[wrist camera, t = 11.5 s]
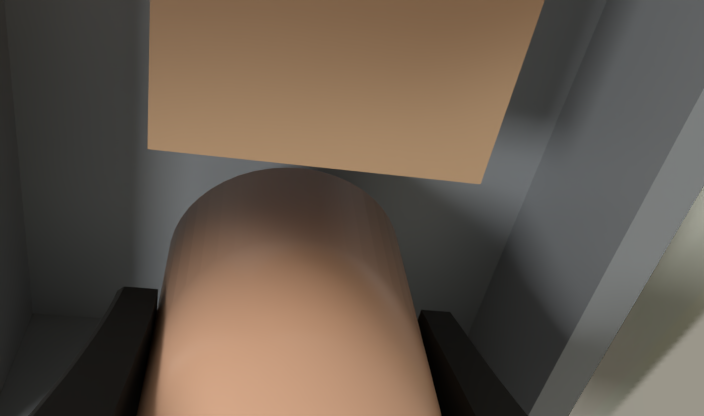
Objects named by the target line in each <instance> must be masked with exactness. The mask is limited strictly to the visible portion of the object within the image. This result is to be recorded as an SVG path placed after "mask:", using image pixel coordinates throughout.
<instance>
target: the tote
mask: <svg viewBox="0 0 704 416" xmlns="http://www.w3.org/2000/svg"><path fill="white" fill-rule="evenodd" d="M149 33H150V0H0V416H28V415H29V414H30V413H31V412H32V411H33V410H34V409H35V407H36V406H37V405H38V404H39V402H40V401H41V400H42V399H43V398H44V396H45V395H46V394H47V393H48V392H49V390H50V389H51V388H52V387H53V386H54V384H55V383H56V382H57V381H58V380H59V378H60V377H61V376H62V374H63V373H64V372H65V371H66V369H67V368H68V367H69V365H70V364H71V362H72V361H73V360H74V358H75V357H76V356H77V354H78V353H79V352H80V350H81V349H82V347H83V346H84V345H85V343H86V342H87V341H88V339H89V338H90V336H91V335H92V333H93V332H94V330H95V329H96V327H97V326H98V324H99V322H100V321H101V319H102V318H103V316H104V314H105V313H106V311H107V309H108V308H109V306H110V304H111V302H112V301H113V299H114V297H115V295H116V293H117V291H118V290H119V289H121V288H122V287H124V286H125V287H137V288H150V289H158V302H157V309H158V303H159V298H160V293H161V288H162V283H163V278H164V273H165V268H166V262H167V257H168V252H169V247H170V242H171V239H172V236H173V233H174V230H175V228H176V226H177V224H178V223H179V221H180V219H181V217H182V216H183V215H184V213H185V212H186V211H187V210H188V208H189V207H190V206H191V205H192V204H193V203H194V202H195V201H196V200H197V199H198V198H199V197H201V196H202V195H203V194H205V193H206V192H207V191H209V190H210V189H212V188H213V187H215V186H217V185H219V184H221V183H222V182H224V181H226V180H229V179H231V178H234V177H236V176H239V175H242V174H246V173H249V172H253V171H258V170H264V169H270V168H303V169H310V170H315V171H321V172H324V173H327V174H331V175H334V176H337V177H339V178H341V179H344V180H346V181H348V182H350V183H352V184H353V185H355V186H357V187H358V188H360V189H362V190H363V191H364V192H366V193H367V194H368V195H369V196H371V197H372V198H373V199H374V200H375V201H376V202H377V203H378V204H379V205H380V206H381V207H382V209H383V210H384V212H385V213H386V214H387V216H388V217H389V219H390V221H391V223H392V225H393V227H394V230H395V233H396V237H397V240H398V244H399V248H400V252H401V256H402V260H403V264H404V268H405V272H406V276H407V280H408V284H409V288H410V292H411V296H412V300H413V304H414V308H415V311H416V315H417V319H418V317H419V314H420V312H421V310H432V311H444V312H451V314H452V315H453V317H454V318H455V319H456V321H457V322H458V323H459V325H460V326H461V328H462V329H463V330H464V332H465V333H466V335H467V336H468V337H469V339H470V340H471V342H472V343H473V344H474V346H475V347H476V348H477V350H478V351H479V353H480V354H481V355H482V357H483V358H484V360H485V361H486V362H487V364H488V365H489V366H490V368H491V369H492V370H493V372H494V373H495V374H496V376H497V377H498V378H499V380H500V381H501V382H502V384H503V385H504V386H505V387H506V389H507V390H508V391H509V393H510V394H511V395H512V396H513V398H514V399H515V400H516V402H517V403H518V404H519V405H520V407H521V408H522V409H523V410H524V411H525V413H526V414H527V415H528V416H569V414H570V412H571V411H572V409H573V407H574V405H575V404H576V402H577V400H578V399H579V397H580V395H581V394H582V392H583V390H584V388H585V387H586V385H587V383H588V382H589V380H590V378H591V376H592V375H593V373H594V371H595V370H596V368H597V366H598V365H599V363H600V361H601V359H602V358H603V356H604V354H605V353H606V351H607V349H608V348H609V346H610V344H611V342H612V341H613V339H614V337H615V336H616V334H617V332H618V331H619V329H620V327H621V325H622V324H623V322H624V320H625V319H626V317H627V315H628V314H629V312H630V310H631V308H632V307H633V305H634V303H635V302H636V300H637V298H638V297H639V295H640V293H641V291H642V290H643V288H644V286H645V285H646V283H647V281H648V280H649V278H650V276H651V274H652V273H653V271H654V269H655V268H656V266H657V264H658V263H659V261H660V259H661V257H662V256H663V254H664V252H665V251H666V249H667V247H668V245H669V244H670V242H671V240H672V239H673V237H674V235H675V234H676V232H677V230H678V228H679V227H680V225H681V223H682V222H683V220H684V218H685V217H686V215H687V213H688V211H689V210H690V208H691V206H692V205H693V203H694V201H695V200H696V198H697V196H698V194H699V193H700V191H701V189H702V188H703V186H704V0H545V1H544V4H543V7H542V10H541V12H540V15H539V18H538V21H537V24H536V27H535V30H534V33H533V35H532V38H531V41H530V44H529V47H528V50H527V53H526V55H525V58H524V61H523V64H522V67H521V70H520V73H519V75H518V78H517V81H516V84H515V87H514V90H513V93H512V95H511V98H510V101H509V104H508V107H507V110H506V113H505V116H504V118H503V121H502V124H501V127H500V130H499V133H498V136H497V138H496V141H495V144H494V147H493V150H492V153H491V156H490V158H489V161H488V164H487V167H486V170H485V173H484V176H483V178H482V181H481V184H473V183H464V182H454V181H445V180H435V179H426V178H416V177H407V176H397V175H388V174H378V173H369V172H359V171H350V170H341V169H331V168H322V167H312V166H303V165H293V164H284V163H274V162H265V161H255V160H246V159H236V158H227V157H217V156H208V155H199V154H189V153H180V152H170V151H161V150H151V149H148V91H149Z"/></svg>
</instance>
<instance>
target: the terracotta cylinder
mask: <svg viewBox="0 0 704 416" xmlns="http://www.w3.org/2000/svg"><path fill="white" fill-rule="evenodd" d="M137 416H442V415H441V411H440V407H439V403H438V399H437V395H436V391H435V387H434V383H433V379H432V375H431V371H430V367H429V363H428V359H427V355H426V351H425V347H424V343H423V339H422V335H421V331H420V327H419V323H418V319H417V315H416V311H415V308H414V304H413V300H412V296H411V292H410V288H409V284H408V280H407V276H406V272H405V268H404V264H403V260H402V256H401V252H400V248H399V244H398V240H397V237H396V233H395V230H394V227H393V225H392V223H391V221H390V219H389V217H388V216H387V214H386V213H385V212H384V210H383V209H382V207H381V206H380V205H379V204H378V203H377V202H376V201H375V200H374V199H373V198H372V197H371V196H369V195H368V194H367V193H366V192H364V191H363V190H362V189H360V188H358V187H357V186H355V185H353V184H352V183H350V182H348V181H346V180H344V179H341V178H339V177H337V176H334V175H331V174H327V173H324V172H321V171H315V170H310V169H303V168H270V169H264V170H258V171H253V172H249V173H246V174H242V175H239V176H236V177H234V178H231V179H229V180H226V181H224V182H222V183H221V184H219V185H217V186H215V187H213V188H212V189H210V190H209V191H207V192H206V193H205V194H203V195H202V196H201V197H199V198H198V199H197V200H196V201H195V202H194V203H193V204H192V205H191V206H190V207H189V208H188V210H187V211H186V212H185V213H184V215H183V216H182V217H181V219H180V221H179V223H178V224H177V226H176V228H175V230H174V233H173V236H172V239H171V242H170V247H169V252H168V257H167V262H166V268H165V273H164V278H163V283H162V288H161V293H160V298H159V303H158V309H157V314H156V319H155V324H154V329H153V334H152V339H151V345H150V350H149V355H148V360H147V365H146V370H145V375H144V380H143V385H142V390H141V395H140V401H139V406H138V411H137Z"/></svg>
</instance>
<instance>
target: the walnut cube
mask: <svg viewBox="0 0 704 416" xmlns="http://www.w3.org/2000/svg"><path fill="white" fill-rule="evenodd" d="M544 1H545V0H150V33H149V91H148V149H151V150H161V151H170V152H180V153H189V154H199V155H208V156H217V157H227V158H236V159H246V160H255V161H265V162H274V163H284V164H293V165H303V166H312V167H322V168H331V169H341V170H350V171H359V172H369V173H378V174H388V175H397V176H407V177H416V178H426V179H435V180H445V181H454V182H464V183H473V184H481V181H482V178H483V176H484V173H485V170H486V167H487V164H488V161H489V158H490V156H491V153H492V150H493V147H494V144H495V141H496V138H497V136H498V133H499V130H500V127H501V124H502V121H503V118H504V116H505V113H506V110H507V107H508V104H509V101H510V98H511V95H512V93H513V90H514V87H515V84H516V81H517V78H518V75H519V73H520V70H521V67H522V64H523V61H524V58H525V55H526V53H527V50H528V47H529V44H530V41H531V38H532V35H533V33H534V30H535V27H536V24H537V21H538V18H539V15H540V12H541V10H542V7H543V4H544Z"/></svg>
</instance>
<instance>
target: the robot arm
mask: <svg viewBox="0 0 704 416" xmlns="http://www.w3.org/2000/svg"><path fill="white" fill-rule="evenodd" d="M157 302H158V289H150V288H137V287H125V286H124V287H122V288H121V289H119V290H118V291H117V293H116V295H115V297H114V299H113V301H112V302H111V304H110V306H109V308H108V309H107V311H106V313H105V314H104V316H103V318H102V319H101V321H100V322H99V324H98V326H97V327H96V329H95V330H94V332H93V333H92V335H91V336H90V338H89V339H88V341H87V342H86V343H85V345H84V346H83V347H82V349H81V350H80V352H79V353H78V354H77V356H76V357H75V358H74V360H73V361H72V362H71V364H70V365H69V367H68V368H67V369H66V371H65V372H64V373H63V374H62V376H61V377H60V378H59V380H58V381H57V382H56V383H55V384H54V386H53V387H52V388H51V389H50V390H49V392H48V393H47V394H46V395H45V396H44V398H43V399H42V400H41V401H40V402H39V404H38V405H37V406H36V407H35V409H34V410H33V411H32V412H31V413H30V414H29V415H28V416H137V411H138V406H139V401H140V395H141V390H142V385H143V380H144V375H145V370H146V365H147V360H148V355H149V350H150V345H151V339H152V334H153V329H154V324H155V319H156V314H157ZM418 323H419V327H420V331H421V335H422V339H423V343H424V347H425V351H426V355H427V359H428V363H429V367H430V371H431V375H432V379H433V383H434V387H435V391H436V395H437V399H438V403H439V407H440V411H441V415H442V416H528V415H527V414H526V413H525V411H524V410H523V409H522V408H521V407H520V405H519V404H518V403H517V402H516V400H515V399H514V398H513V396H512V395H511V394H510V393H509V391H508V390H507V389H506V387H505V386H504V385H503V384H502V382H501V381H500V380H499V378H498V377H497V376H496V374H495V373H494V372H493V370H492V369H491V368H490V366H489V365H488V364H487V362H486V361H485V360H484V358H483V357H482V355H481V354H480V353H479V351H478V350H477V348H476V347H475V346H474V344H473V343H472V342H471V340H470V339H469V337H468V336H467V335H466V333H465V332H464V330H463V329H462V328H461V326H460V325H459V323H458V322H457V321H456V319H455V318H454V317H453V315H452V314H451V312H444V311H432V310H421V312H420V314H419V317H418Z"/></svg>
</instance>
